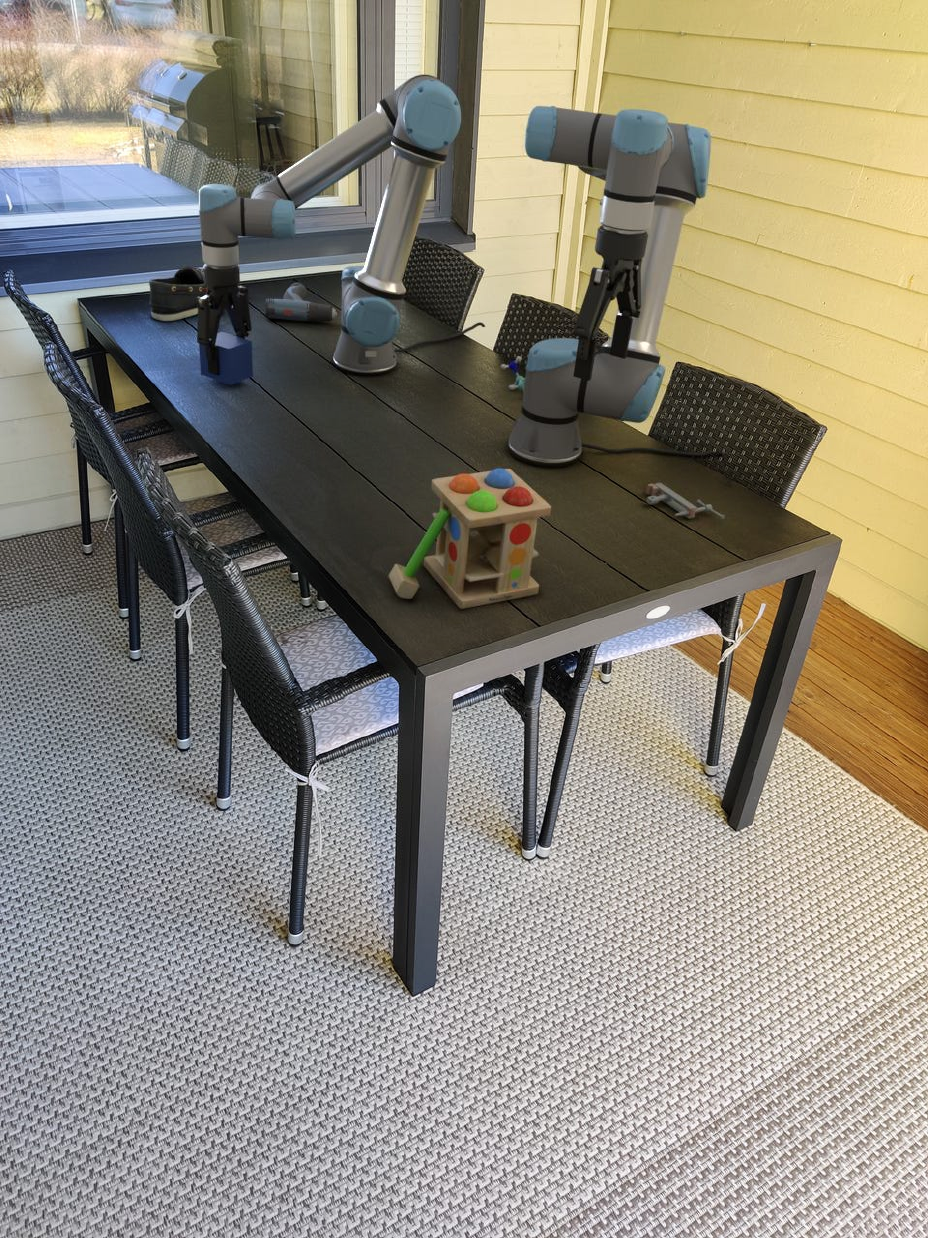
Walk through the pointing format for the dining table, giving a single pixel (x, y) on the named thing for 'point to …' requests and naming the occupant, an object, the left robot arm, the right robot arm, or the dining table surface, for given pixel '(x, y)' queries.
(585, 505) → the dining table surface
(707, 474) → the dining table surface
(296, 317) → the power drill
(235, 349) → the brick
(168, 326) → the dining table surface
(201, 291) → the boat shoe
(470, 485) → the pounding bench toy
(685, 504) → the clamp
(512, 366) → the molecular model
